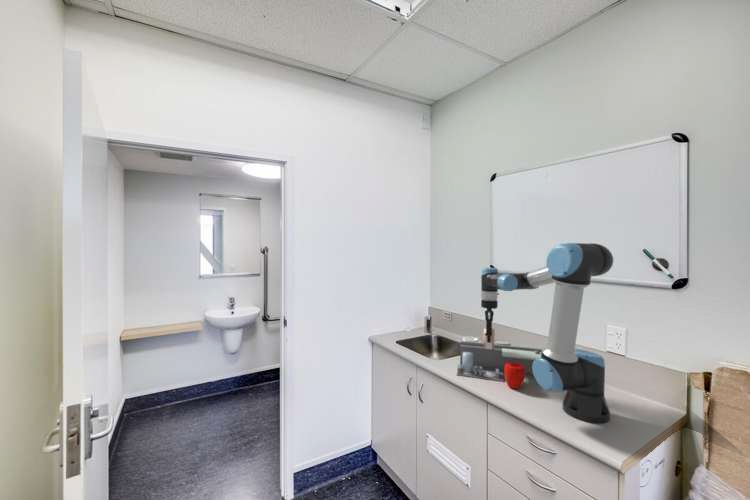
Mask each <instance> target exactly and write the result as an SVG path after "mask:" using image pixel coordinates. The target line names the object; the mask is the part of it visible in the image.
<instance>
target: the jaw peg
mask: <svg viewBox="0 0 750 500" xmlns="http://www.w3.org/2000/svg"><path fill="white" fill-rule="evenodd" d="M485 334H486V327H484V328H483V334H482V335H483V338H482V339H483V341H482V343H483V347H484V348H485V349H486V335H485ZM494 340H495V329H494V328H492V349H494Z"/></svg>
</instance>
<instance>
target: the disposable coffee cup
mask: <svg viewBox="0 0 750 500" xmlns="http://www.w3.org/2000/svg"><path fill="white" fill-rule="evenodd" d="M494 344H498V345H508V346H512V344H511V342H510V341H508V340H505V339H494Z"/></svg>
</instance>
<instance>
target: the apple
mask: <svg viewBox="0 0 750 500" xmlns="http://www.w3.org/2000/svg"><path fill="white" fill-rule="evenodd" d="M503 375H504V379H505V382H506V385H507V386H508V387H509V389H512V390H513V389H519V388H521V387H522V386H523V383H524V381H525V379H526V373H525V368H524V366H523V365H521V364H519V363H515V362H511V363H507V364H505V367H504V370H503Z"/></svg>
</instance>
